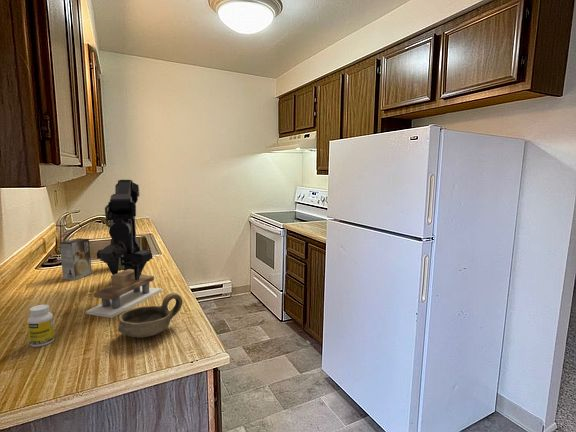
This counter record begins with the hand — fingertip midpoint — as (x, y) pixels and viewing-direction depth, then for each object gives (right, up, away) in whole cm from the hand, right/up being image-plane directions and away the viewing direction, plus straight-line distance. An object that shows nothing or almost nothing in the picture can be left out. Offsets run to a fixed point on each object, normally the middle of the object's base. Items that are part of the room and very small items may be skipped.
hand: (125, 278), depth 113 cm
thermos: (-22, -3, +42) cm, 47 cm away
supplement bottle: (-9, -12, -26) cm, 30 cm away
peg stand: (0, -8, +1) cm, 8 cm away
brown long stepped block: (0, -3, 0) cm, 3 cm away
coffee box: (-35, -5, +28) cm, 45 cm away
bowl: (+18, -12, -20) cm, 29 cm away
